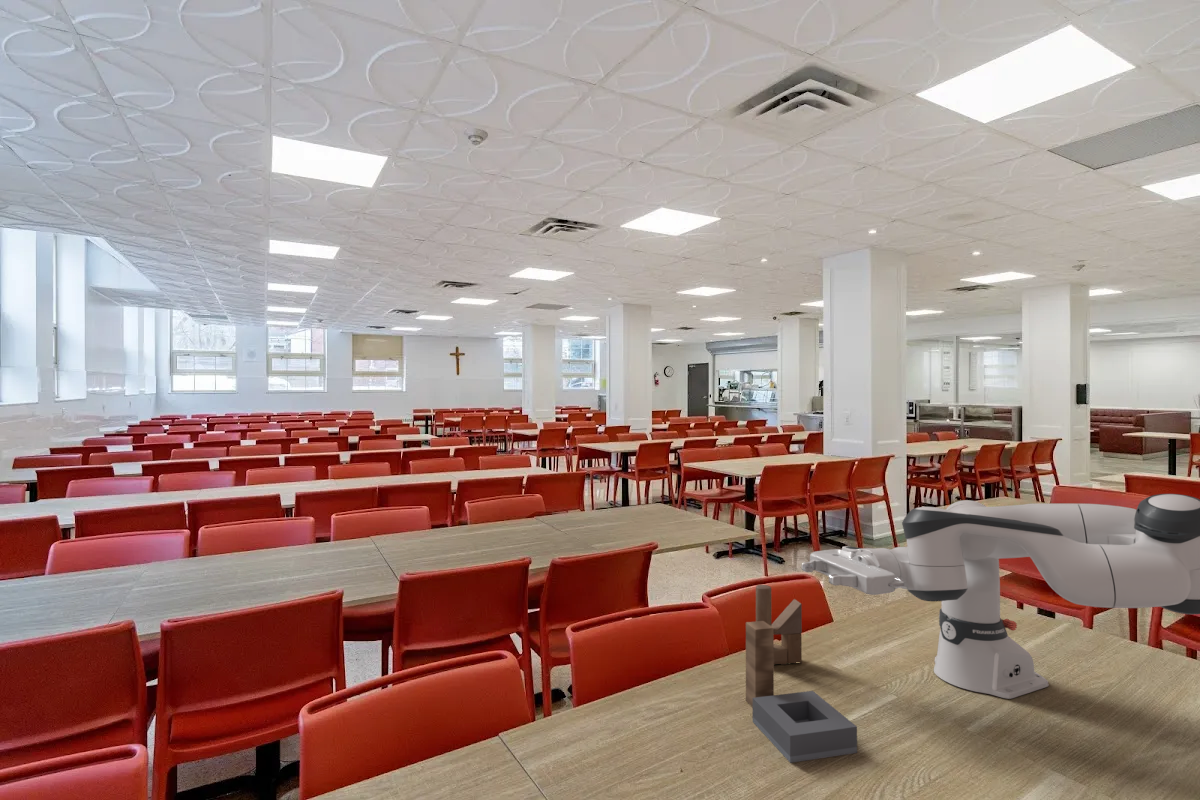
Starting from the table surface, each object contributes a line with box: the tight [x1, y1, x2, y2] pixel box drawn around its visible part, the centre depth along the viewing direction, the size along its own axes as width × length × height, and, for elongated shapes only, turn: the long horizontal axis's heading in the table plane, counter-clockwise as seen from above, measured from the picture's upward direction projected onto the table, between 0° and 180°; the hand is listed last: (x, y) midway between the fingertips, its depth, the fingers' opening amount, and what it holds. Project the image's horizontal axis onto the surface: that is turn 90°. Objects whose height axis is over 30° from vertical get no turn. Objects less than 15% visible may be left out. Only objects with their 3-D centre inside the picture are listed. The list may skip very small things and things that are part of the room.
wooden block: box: [755, 584, 803, 665], centre depth 134 cm, size 4×11×18 cm, turn 99°
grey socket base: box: [752, 690, 858, 764], centre depth 103 cm, size 13×13×4 cm
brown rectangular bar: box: [745, 620, 775, 709], centre depth 114 cm, size 4×4×16 cm
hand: (816, 573), depth 118 cm, fingers open, 8 cm apart
